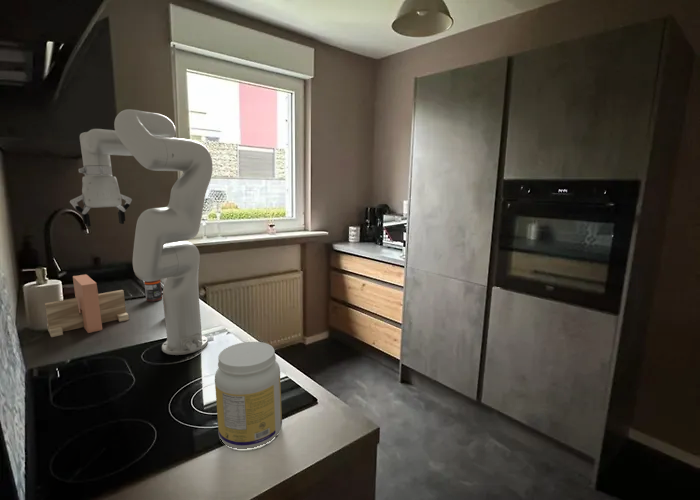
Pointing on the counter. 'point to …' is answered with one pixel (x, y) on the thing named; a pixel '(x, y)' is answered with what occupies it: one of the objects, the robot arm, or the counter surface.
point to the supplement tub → (248, 395)
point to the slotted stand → (69, 318)
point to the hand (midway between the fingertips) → (105, 224)
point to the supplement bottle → (153, 290)
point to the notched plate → (88, 302)
